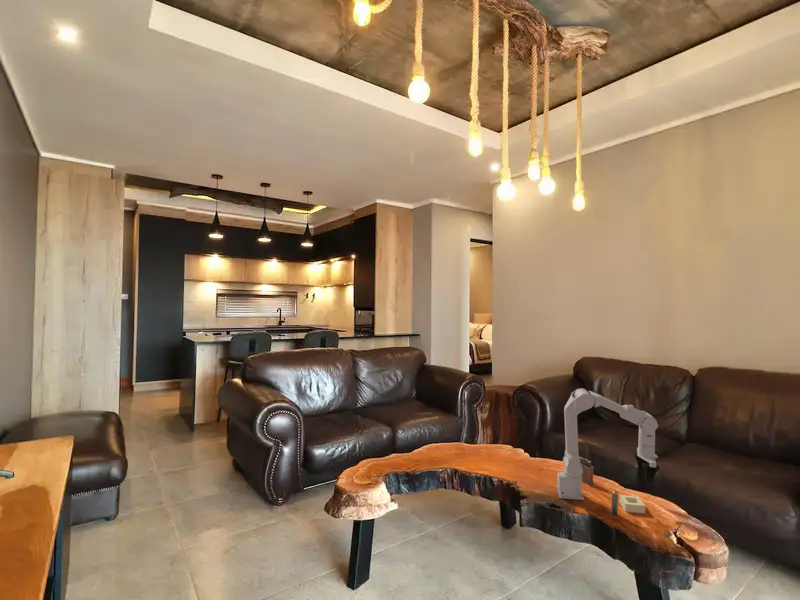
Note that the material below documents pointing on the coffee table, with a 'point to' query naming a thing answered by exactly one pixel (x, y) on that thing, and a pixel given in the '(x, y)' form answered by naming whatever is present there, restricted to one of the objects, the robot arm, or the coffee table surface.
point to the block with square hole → (632, 504)
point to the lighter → (587, 471)
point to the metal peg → (614, 502)
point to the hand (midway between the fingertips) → (645, 477)
